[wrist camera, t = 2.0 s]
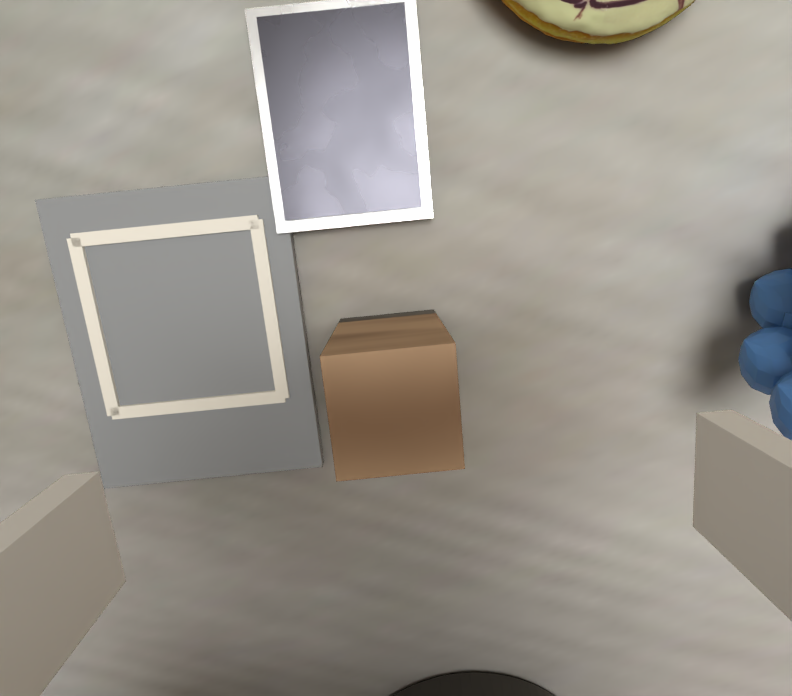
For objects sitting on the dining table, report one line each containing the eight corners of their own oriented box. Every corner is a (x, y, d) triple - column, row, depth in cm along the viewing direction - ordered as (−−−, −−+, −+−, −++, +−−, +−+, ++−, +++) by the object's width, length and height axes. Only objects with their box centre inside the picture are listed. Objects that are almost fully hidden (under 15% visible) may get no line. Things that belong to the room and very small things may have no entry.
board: (323, 461, 26) (321, 468, 25) (110, 482, 26) (101, 490, 25) (284, 176, 23) (280, 174, 22) (43, 200, 23) (31, 199, 22)
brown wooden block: (440, 398, 26) (464, 468, 18) (351, 407, 26) (336, 481, 18) (433, 309, 25) (455, 343, 17) (340, 318, 25) (319, 356, 17)
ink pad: (431, 218, 24) (434, 217, 22) (281, 233, 24) (275, 233, 22) (414, 2, 22) (415, -14, 20) (250, 19, 22) (241, 4, 20)
